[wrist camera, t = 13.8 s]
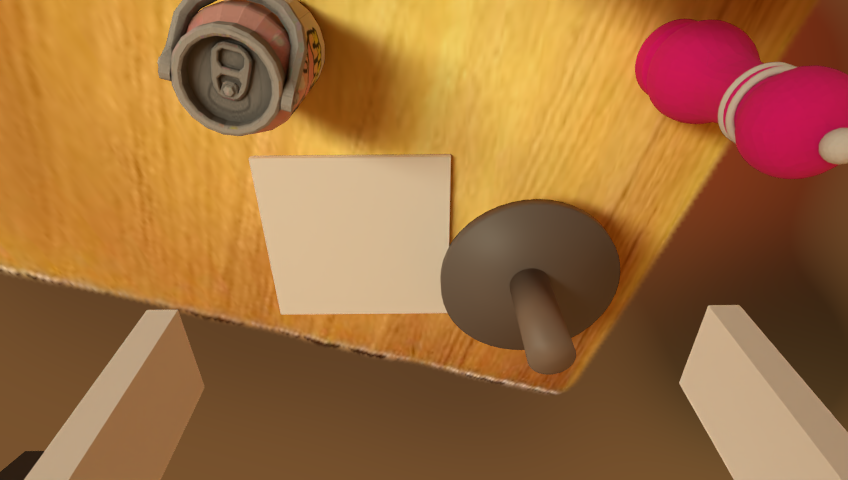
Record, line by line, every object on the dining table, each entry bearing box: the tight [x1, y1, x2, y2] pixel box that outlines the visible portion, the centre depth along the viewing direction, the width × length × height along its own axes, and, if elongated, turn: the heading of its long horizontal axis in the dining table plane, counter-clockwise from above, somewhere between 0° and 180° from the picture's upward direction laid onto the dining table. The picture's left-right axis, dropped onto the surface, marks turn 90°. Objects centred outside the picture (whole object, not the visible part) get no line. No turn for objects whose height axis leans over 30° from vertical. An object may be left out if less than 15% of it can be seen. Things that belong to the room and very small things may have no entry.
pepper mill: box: [635, 19, 848, 179], centre depth 32 cm, size 7×7×20 cm
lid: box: [440, 199, 620, 374], centre depth 42 cm, size 16×16×10 cm
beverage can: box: [158, 0, 325, 136], centre depth 34 cm, size 9×8×12 cm
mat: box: [249, 154, 451, 314], centre depth 49 cm, size 18×18×1 cm
